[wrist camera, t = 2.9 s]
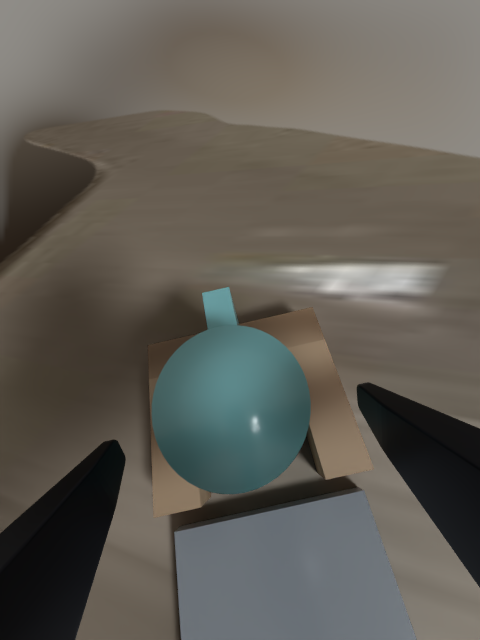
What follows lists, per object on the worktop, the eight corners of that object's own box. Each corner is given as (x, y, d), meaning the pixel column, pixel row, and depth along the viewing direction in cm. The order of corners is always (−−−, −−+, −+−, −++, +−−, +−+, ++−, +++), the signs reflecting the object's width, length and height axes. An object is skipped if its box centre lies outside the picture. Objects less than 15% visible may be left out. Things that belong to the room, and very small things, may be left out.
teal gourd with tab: (298, 450, 16) (336, 472, 7) (220, 468, 16) (155, 512, 7) (266, 334, 19) (264, 248, 10) (203, 349, 19) (146, 276, 10)
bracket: (358, 464, 15) (374, 469, 13) (170, 505, 15) (153, 518, 13) (307, 321, 19) (312, 306, 17) (161, 355, 20) (147, 344, 17)
